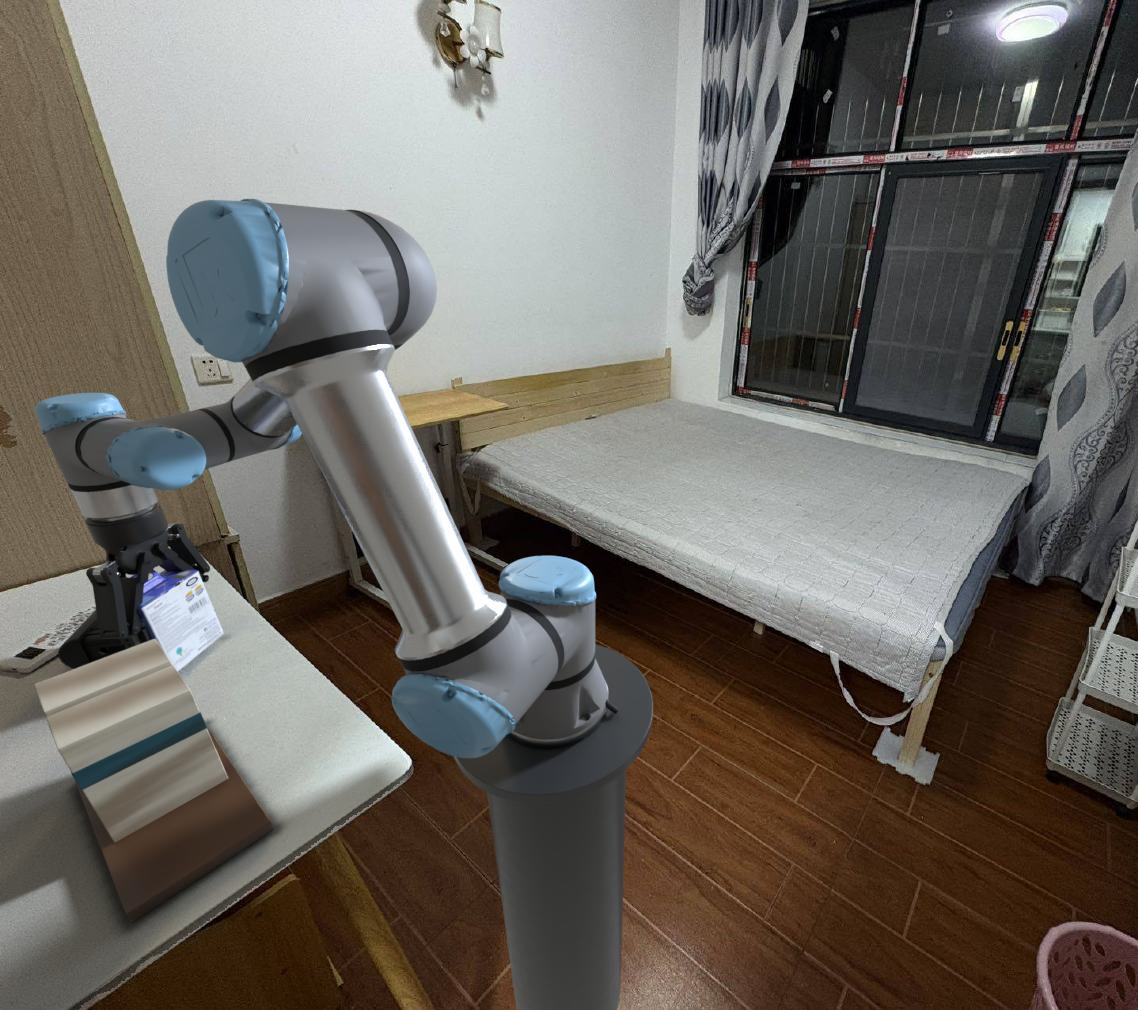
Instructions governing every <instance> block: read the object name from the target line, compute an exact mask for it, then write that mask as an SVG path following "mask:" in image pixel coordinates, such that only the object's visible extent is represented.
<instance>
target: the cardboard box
mask: <svg viewBox="0 0 1138 1010" xmlns="http://www.w3.org/2000/svg"><path fill="white" fill-rule="evenodd" d="M33 687H34V689H35V692H36V695H37V698H38V701H39V704H40V705H41V706H40V707H41V709H42V711H43V713H44V715H45V719H46V722H47V725H48V727H49V730H50V733H51V735H52V738H53V741H54V744H55V746H56V749H57V751H58V752H59V754H60V756H61V758H62V759H63V760H64V762H65V764H66V766H67V767H68V770H69V771H70V774H71V775H72V777H73V779H74V782H75V784H76V787H77V790H78V792H79V795H80V798H81V800H82V803H83V805H84V808H85V811H86V813H87V816H88V818H89V821H90V824H91V827H92V830H93V832H94V834H95V837H96V841H97V842H98V845H99V848H100V850H101V853H102V855H103V858H104V860H105V863H106V866H107V868H108V870H109V873H110V876H111V878H112V881H113V884H114V887H115V890H116V892H117V894H118V897H119V900H120V903H121V905H122V908H123V910H124V913H125V916H126V917H127V918H128V920H129V921H130V923H134V922H135V921H137V920H139V919H141V918H142V917H143V916H144V915H146V914H147V913H150V911H152V910H153V909H155V908H156V907H158V906H160V905H161V904H163V903H164V902H166V901H167V900H169V899H170V898H172V897H174V896H175V895H176V894H178V893H180V892H181V891H182V890H184V889H186V888H187V887H189V886H190V885H192V884H193V883H195V882H196V881H198V880H200V879H201V878H202V877H203V876H205V875H207V874H208V873H210V872H211V871H213V870H215V869H216V868H218V867H220V866H221V865H223V864H224V863H225V862H227V861H228V860H230V859H232V858H233V857H235V856H236V855H237V854H239V853H241V852H242V851H244V850H245V849H247V848H248V847H250V846H251V845H253V844H254V843H256V842H258V840H260V839H262V838H264V837H265V836H266V835H268V834H269V833H271V832H273V831H274V829H275V828H274V826H273V823H272V821H271V820H270V819H271V818H269V816H268V814H267V813H266V812H265V810H264V809H263V807H262V806H261V804H260V803H259V801H258V800H257V798H256V797H255V795H254V794H253V792H252V791H251V789H250V788H249V786H248V785H247V783H246V782H245V780H244V779H243V777H242V775H241V774H240V773H239V771H238V770H237V768H236V767H235V765H234V764H233V763H232V760H231V759H230V758H229V756H228V754H226V752H225V750H224V749H223V747H222V746H221V745H220V743H219V741H218V740H217V738H216V737H215V735H214V734H213V733H212V731H211V730H210V728H209V727H208V725H207V723H206V720H205V718H204V716H203V714H202V712H201V710H200V709H199V706H198V705H197V702H196V700H195V697H194V694H193V693H192V691H191V689H190V687H189V685H188V684H187V683H186V681H185V680H184V678H183V677H182V675H181V674H180V672H179V671H177V670H176V668H175V667H174V665H172V663H171V661H170V659H169V658H168V657H167V655H166V654H165V652H164V651H163V649H162V648H161V646H160V645H159V643H158V642H157V640H156V639H152V640H150V641H147V642H144V643H142V644H139V645H136V646H134V647H131V648H129V649H126V650H123V651H121V652H118V653H115V654H113V655H110V656H107V657H105V658H102V659H99V660H97V661H94V662H91V663H89V664H86V665H84V666H81V667H78V668H76V669H71V670H68V671H66V672H63V673H60V674H58V675H55V676H52V677H49V678H47V679H44V680H41V681H39V682H36V683H34V684H33Z"/></svg>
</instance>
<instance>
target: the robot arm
mask: <svg viewBox="0 0 1138 1010" xmlns="http://www.w3.org/2000/svg"><path fill="white" fill-rule="evenodd" d="M166 249H167V250H166V251H167V252H166V257H165V264H166V266H165V267H166V273H167V274H166V276H167V283H168V288H169V291H170V296H171V298H172V302H173V305H174V307H175V310H176V312H177V315H178V317H179V320H180V321H181V323H182V324H183V326H184V328H185V329H186V332H187V333H188V334H189V336H190V337H191V338H192V339H193V340H194V341H195V343H197V344H198V345H199V346H203V349H204V351H205V352H206V353H208V354H209V355H211V356H213V357H214V358H216V359H219V360H222V361H228V362H231V363H235V364H236V363H242V364H243V365H242V366H243V367H244V369H245V370H246V372H247V374H248V375H249V379H248V380H247V381H246V382H245V383H244V384H243V386H242V387H241V388H240V389H239V390H238V391H237V392H236V393H235V394H234V395H233V396H232V397H231V398H230V399H229V400H228V401H226V402H224V403H220V404H215V405H211V406H207V407H202V408H197V409H193V410H189V411H184V412H180V413H174V414H170V415H164V416H160V417H155V418H151V419H146V420H135V419H129V418H127V411H126V410H125V409H123V406H122V405H121V402H120V401H119V399H118V398H117V397H116V396H114V395H113V394H110V393H106V392H81V393H80V392H79V393H69V394H63V395H57V396H53V397H49V398H45V399H42V400H41V401H39V402H37V404H36V405H35V406H34V412H35V415H36V418H37V421H38V424H39V427H40V429H41V430H40V433H41V434H42V435H43V436H44V438H45V440H46V442H47V444H48V446H49V448H50V450H51V452H52V455H53V457H54V459H55V461H56V463H57V465H58V468H59V469H60V471H61V473H62V475H63V477H64V479H65V482H66V483H67V485H68V488H69V489H70V492H71V494H72V496H73V498H74V500H75V502H76V504H77V508H78V509H79V512H80V514H81V516H83V517H84V518H86V519H85V520H84V521H85V524H86V527H87V529H88V531H89V533H90V536H91V537H92V540H93V542H94V543H95V544H96V545H98V546H99V547H100V548H102V549H103V550H104V551H105V561H106V562H104V563H103V564H101V565H100V566H98V567H89V568H87V569H86V571H85V574H86V577H87V578H88V580H89V582H90V583H91V586H92V591H93V598H94V604H95V610H96V612H97V619H98V626H99V632H100V637H101V638H102V639H121V640H122V642H123V644H124V646H125V648H126V649H129V648H131V647H134V646H136V645H139V644H142V643H144V642H147V641H150V640H152V637H151V635H150V633H149V631H148V629H147V627H141V616H140V614H139V611H138V607H139V606H140V605H141V604H142V603H143V590H144V584H145V583H146V582H147V581H148V580H149V575H150V574H149V573H150V572H151V571H152V570H155V568H156V567H160V568H161V569H163V571H164V570H166V571H167V572H185V571H186V570H197V571H199V574H200V577H201V579H202V582H203V583H207V582H209V579H210V577H209V575H208V574H207V573H209V572H210V571H211V566H210V564H209V563H208V562H207V560H206V559H205V558H204V557H203V555H202V554H201V553H200V551H199V550H198V549H197V548H196V545H194V543H193V542H192V540H191V538H189V537H188V535H187V531H186V528H185V525H184V524H183V523H168V521H167V518H166V515H165V513H164V510H163V508H162V506H161V504H159V503H158V501H159V497H158V494H157V492H156V490H159V491H174V490H179V489H183V488H186V487H188V486H189V485H191V484H192V483H193V482H194V481H196V480H197V479H198V478H199V477H201V476H202V474H203V472H204V471H205V470H208V469H211V468H214V467H217V466H221V465H223V464H226V463H227V464H228V463H230V462H232V461H236V460H237V461H238V460H240V459H243V458H247V457H250V456H253V455H257V454H260V453H264V452H267V451H271V450H278V449H280V448H282V447H284V446H286V445H288V444H291V443H293V442H296V441H298V439H300V438H301V436H302V437H303V439H304V440H305V442H306V444H307V446H308V448H309V450H310V452H311V453H312V456H313V458H314V459H315V462H316V464H317V466H318V467H319V469H320V471H321V473H322V475H323V477H324V479H325V481H326V483H327V485H328V487H329V489H330V492H331V493H332V494H333V496H334V499H335V501H336V502H337V504H338V506H339V508H340V510H341V512H342V514H343V516H344V518H345V520H346V522H347V524H348V525H349V527H350V530H351V532H352V533H353V535H354V538H355V540H356V542H357V543H358V545H359V547H360V549H361V552H362V553H363V555H364V557H365V559H366V561H367V563H368V565H369V566H370V569H371V570H372V573H373V575H374V577H375V578H376V580H377V582H378V584H379V586H380V588H381V590H382V592H383V594H384V596H385V598H386V600H387V601H388V604H389V605H390V607H391V609H392V612H393V613H394V615H395V617H396V619H397V622H398V623H399V625H400V627H401V629H402V630H401V633H400V636H399V638H398V640H397V642H396V645H395V646H394V647H395V648H394V653H395V655H396V657H397V659H398V661H399V663H400V665H401V667H402V669H403V671H404V672H405V674H404V675H403V676H402V677H400V678H399V679H398V680H397V681H396V684H395V685H394V687H393V688H392V693H391V695H392V696H391V705H392V707H393V709H394V712H395V714H396V715H397V717H398V718H399V720H400V721H401V722H402V724H403V725H404V726H405V727H406V728H407V729H408V730H409V731H410V733H412V734H413V735H414V736H415V737H417V738H418V739H419V740H420V741H422V742H423V743H425V744H427V745H428V746H430V747H432V748H433V749H435V750H438V752H441V753H443V754H446V755H448V756H451V757H454V756H455V757H460V758H477V757H481V756H483V755H486V754H488V753H489V752H491V751H492V750H493V749H494V748H495V747H496V746H497V745H498V744H499V743H500V741H501V740H502V739H503V738H504V737H505V736H506V735H508V736H509V737H510V738H511V739H512V740H514V741H515V742H517V743H519V744H521V745H524V746H526V747H530V748H535V749H557V748H563V747H567V746H570V745H573V744H575V743H577V742H579V741H581V740H583V739H585V738H586V737H588V736H589V735H591V734H592V733H593V732H594V731H595V730H596V729H597V728H598V727H599V726H600V724H601V723H602V722H603V720H604V718H605V716H606V713H607V710H608V709H609V710H610V711H612V712H613V713H614V714H616V713H617V712H618V711H619V709H618V708H617V707H616V706H614V705H613V704H612V703H610V702H609V701H608V687H607V684H606V681H605V679H604V677H603V675H602V672H601V670H600V668H599V666H598V663H597V661H596V659H595V644H596V599H597V593H596V592H597V591H595V580H594V575H593V574H592V572H591V571H590V569H589V568H588V567H587V566H586V565H584V564H583V563H581V562H580V561H578V560H574V559H572V558H568V557H565V556H564V557H563V556H557V555H534V556H533V555H532V556H528V557H523V558H520V559H517V560H515V561H513V562H511V563H509V564H508V565H506V566H505V567H504V568H503V570H502V571H501V572H500V574H499V575H500V576H499V580H498V588H499V590H500V593H499V594H497V593H495V592H491V591H488V590H486V589H485V587H484V585H483V582H482V581H481V579H480V576H479V574H478V571H477V570H476V566H475V564H474V563H473V561H472V558H471V556H470V554H469V552H468V549H467V548H466V545H465V543H464V541H463V539H462V536H461V534H460V532H459V529H458V528H457V525H456V523H455V521H454V518H453V516H452V514H451V512H450V510H449V507H448V505H447V503H446V501H445V498H444V497H443V495H442V492H441V490H440V488H439V485H438V483H437V481H436V478H435V476H434V474H433V472H432V469H431V468H430V465H429V463H428V461H427V459H426V457H425V454H424V452H423V450H422V447H421V445H420V443H419V442H418V439H417V436H416V435H415V432H414V430H413V428H412V425H411V423H410V421H409V419H408V416H407V414H406V412H405V410H404V408H403V406H402V403H401V401H400V399H399V397H398V394H397V392H396V389H395V388H394V385H393V383H392V382H391V379H390V377H389V375H388V366H389V363H390V362H391V360H392V358H393V355H394V353H395V351H397V350H398V349H399V348H401V347H402V346H403V345H405V343H407V342H408V341H409V340H410V339H412V338H413V337H414V336H415V335H416V334H417V333H418V332H419V331H420V330H421V329H422V328H423V327H424V326H425V324H426V323H427V322H428V320H429V319H430V317H431V316H432V313H433V311H434V310H435V309H434V308H435V306H436V302H437V293H438V287H437V280H436V274H435V271H434V267H433V264H432V262H431V261H430V259H429V257H428V255H427V252H426V251H425V249H424V248H423V247H422V245H420V243H419V242H418V241H417V239H416V238H415V237H414V236H413V235H411V233H409V231H407V230H406V229H405V228H404V227H402V226H401V225H399V224H397V223H396V222H394V221H393V220H391V219H389V218H387V217H385V216H383V215H381V214H377V213H373V212H370V211H365V210H358V209H338V208H328V207H327V208H326V207H319V206H318V207H317V206H307V205H298V204H297V205H295V204H288V203H287V204H286V203H277V202H267V201H262V200H261V199H258V198H243V199H241V200H226V199H225V200H224V199H207V200H201V201H198V202H195V203H193V204H190V205H189V206H188V207H186V208H185V209H183V211H182V212H181V213H180V214H178V216H177V218H176V219H175V220H174V222H173V225H172V227H171V229H170V232H169V235H168V239H167V248H166ZM127 575H129V576H133V575H137V577H136V578H130V577H127ZM127 623H129V625H127Z"/></svg>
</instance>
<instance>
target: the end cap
mask: <svg viewBox="0 0 1138 1010" xmlns="http://www.w3.org/2000/svg"><path fill="white" fill-rule="evenodd" d="M123 650H126V648H125V646H124V644H123V642H122V640H121V639H102V638H101V637H100V632H99V626H98V619H97V612H96V609H95V610H93V612H92V613H91V614H90V615H89V616H88V617H87V618H86V619H85V620H84V621H83V622H82V623H81V625H79V626H78V627H77V629H75V630H74V631H73V632H72V633H71V635H70V636H68V638H67V639H66V640H65V641H64V642H63V643H62V644H61V645H60V647H59V649H58V651H57V652H58V653H57V654H58V658H59V660H60V661H61V663H62V664H64V666H66V667H68V668H69V669H71V670H73V669H76V668H78V667H81V666H84V665H86V664H89V663H91V662H94V661H97V660H99V659H102V658H105V657H107V656H110V655H113V654H115V653H118V652H121V651H123Z"/></svg>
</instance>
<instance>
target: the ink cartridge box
mask: <svg viewBox="0 0 1138 1010" xmlns="http://www.w3.org/2000/svg"><path fill="white" fill-rule="evenodd" d="M149 575H152V577H151V578H148V581H147V582H146V583H145V584H144V590H143V603H142V604H141V605H140V606H139V607H138V611H139V614H140V616H141V627H147V629H148V631H149V633H150V635H151V637H152V639H156V640H157V642H158V643H159V645H160V646H161V648H162V649H163V651H164V652H165V654H166V655H167V657H168V658H169V659H170V661H171V663H172V665H174V667H175V668H176V670H177V671H178V672H180V671H181V670H182V669H183V668H185V666H187V665H188V664H189V663H191V662H192V661H193V660H194V659H195V658H196V657H198V656H199V655H200V654H201V653H202V652H203V651H205V650H206V649H207V648H209V647H210V646H211V645H212V644H213V643H215V642H216V641H217V640H218V639H220V638H221V637H222V636H223V635H224V630H223V628H222V625H221V622H220V619H219V618H218V615H217V613H216V611H215V608H214V606H213V603H212V601H211V599H210V597H209V594H208V591H207V589H206V586H205V584H204V582H202V579H201V577H200V574H199V571H197V570H186V571H185V572H167V571H166V570H164V569H163V570H162V571H160V572H159V573H158V571H156V570H155V569H153V570H152V571H151V572H150V573H149ZM136 577H137V575H130V576H129V578H136ZM127 625H129V623H127Z"/></svg>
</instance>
